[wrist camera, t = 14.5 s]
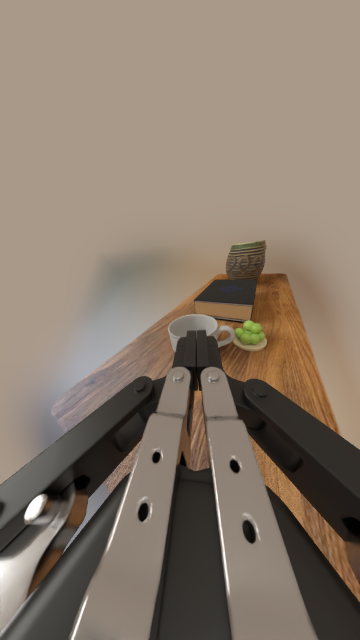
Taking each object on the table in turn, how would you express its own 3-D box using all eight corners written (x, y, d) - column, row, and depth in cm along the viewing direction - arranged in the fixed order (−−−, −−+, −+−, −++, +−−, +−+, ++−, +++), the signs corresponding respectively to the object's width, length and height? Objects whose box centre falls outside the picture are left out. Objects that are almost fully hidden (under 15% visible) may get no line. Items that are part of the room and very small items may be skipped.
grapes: (241, 354, 29) (244, 335, 27) (225, 334, 36) (226, 317, 34) (274, 347, 30) (280, 327, 27) (252, 328, 37) (255, 311, 34)
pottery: (221, 287, 72) (222, 245, 62) (230, 278, 84) (232, 242, 74) (258, 289, 62) (266, 240, 52) (262, 279, 74) (270, 237, 64)
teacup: (164, 360, 31) (157, 333, 27) (184, 334, 39) (181, 309, 35) (227, 381, 24) (229, 349, 20) (235, 344, 32) (238, 316, 28)
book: (195, 317, 47) (193, 299, 43) (214, 293, 65) (214, 279, 62) (250, 325, 39) (253, 304, 35) (254, 295, 57) (257, 279, 54)
